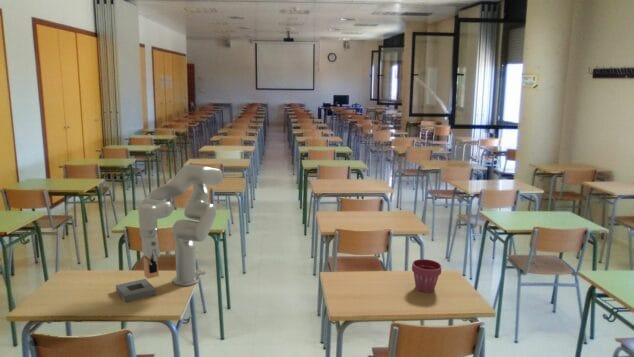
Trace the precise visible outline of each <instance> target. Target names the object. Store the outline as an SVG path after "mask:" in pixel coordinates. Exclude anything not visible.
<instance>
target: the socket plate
mask: <svg viewBox="0 0 634 357" xmlns="http://www.w3.org/2000/svg"><path fill="white" fill-rule="evenodd" d="M156 290H157V289H156V288H155V287H154V286H153V285H152V283H150V282H149V281H148V280H147V278H142V279H139V280H138V279H137V280H134V281H129V282H125V283H122V284H116V285H115V291H116V293H117V294H118V295H119V297H121V299H122V300H123V301H124V302H125V303H127V302H131V301H135V300H140V299H143V298H147V297H152V296H156V295H157V294H156V293H157V291H156Z"/></svg>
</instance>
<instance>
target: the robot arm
mask: <svg viewBox="0 0 634 357" xmlns="http://www.w3.org/2000/svg"><path fill="white" fill-rule="evenodd" d="M223 179H224V174H223V171H222V170H221V169H220V168H217V167H216V168H215V167H210V166H205V165H199V164H198V165H197V164H185V165H184V166H182V168H181V169H180V170H179V171H178V172H177V173H176V174H175V176H173V178H172V179H171V180H170V181H169V182H167V183H165V184H163V185H160V186H158V187H156V188H155V189H153V190H151V192H149V193H148V194H147V195H146V196H145V198H144V199H143V200H142V202H141V205H139V206H138V208H137V209H138V211H137V212H138V224H139V237H140V238H141V250H142V253H143V255H144V257H147V258H149V262H150V265H149V271H150V273H154V272H157V258H160V256H161V253H160V243H159V238H158V234H159V230H158V229H159V228H158V220H159V219H164V218H167V217H170V216H171V214H172V213H173V211H174V207H173V203H171V202H170V201H167V200H168V199H172V198H177V197H180V196H183V195H184V194H185V193H186V192H187V190H189V188H190V187H191V185H192V192H191V195H190V197H189V199H188V202H187V203H186V206H185V208H184V211H183V214H184V216H185V218H187V219H178V220H176V221H174V223H173V225H172V235H173V240H174V244H175V245H174V246H175V271H176V272H175V274H176V276H175V277H174V278H173V279H172V281H173V284H175V285H176V286H180V287H187V286H189V287H190V286H192V285H196V284H198V282H199V281H200V276H205V275H206V271H205V270H202V271H201V270H200V269H199V270H197V264H196V263H197V262H196V261H197V260H196V258H197V256H196V245H195V242H198V243H202V242H204V241H205V240H206V239H207V237H208V235H209V233H210V231H211V228H212V226H213V224H214V222H215V219H216V216H217V207H216V206H215V204H214V203H211V202H208V200H209V199H210V192H209V189H208V186H207V185H212V186H218V185H220V184H221V183H222V181H223ZM152 256H153V257H152ZM151 257H152V258H151ZM151 259H153V260H152V262H151Z"/></svg>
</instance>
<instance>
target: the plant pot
mask: <svg viewBox="0 0 634 357" xmlns="http://www.w3.org/2000/svg"><path fill="white" fill-rule="evenodd" d="M411 271H412V272H413V277H414V284H415V285H414V286H415V289H416V290H418V291H420V292H422V293H431V292H434V291H435V288H436V285H437V284H438V283H437V282H438V280H439V276H440V275H441V274H442V264H441V263H440V262H438V261H435V260H433V259H426V258H425V259H424V258H421V259H415V260H413V262H412V265H411Z"/></svg>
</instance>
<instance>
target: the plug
mask: <svg viewBox="0 0 634 357" xmlns="http://www.w3.org/2000/svg"><path fill="white" fill-rule="evenodd" d="M152 257H153V256H152ZM152 257H151V258H152ZM158 258H159V257H157V272H154V273H150V271H149V265H150V262H149V258H147V257H145V256H143V272H144V277H145V279H146V280H147V279H153V278H156V277H159V275H160V274H159V262H158V261H159V260H158ZM152 260H153V259H151V262H152Z"/></svg>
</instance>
